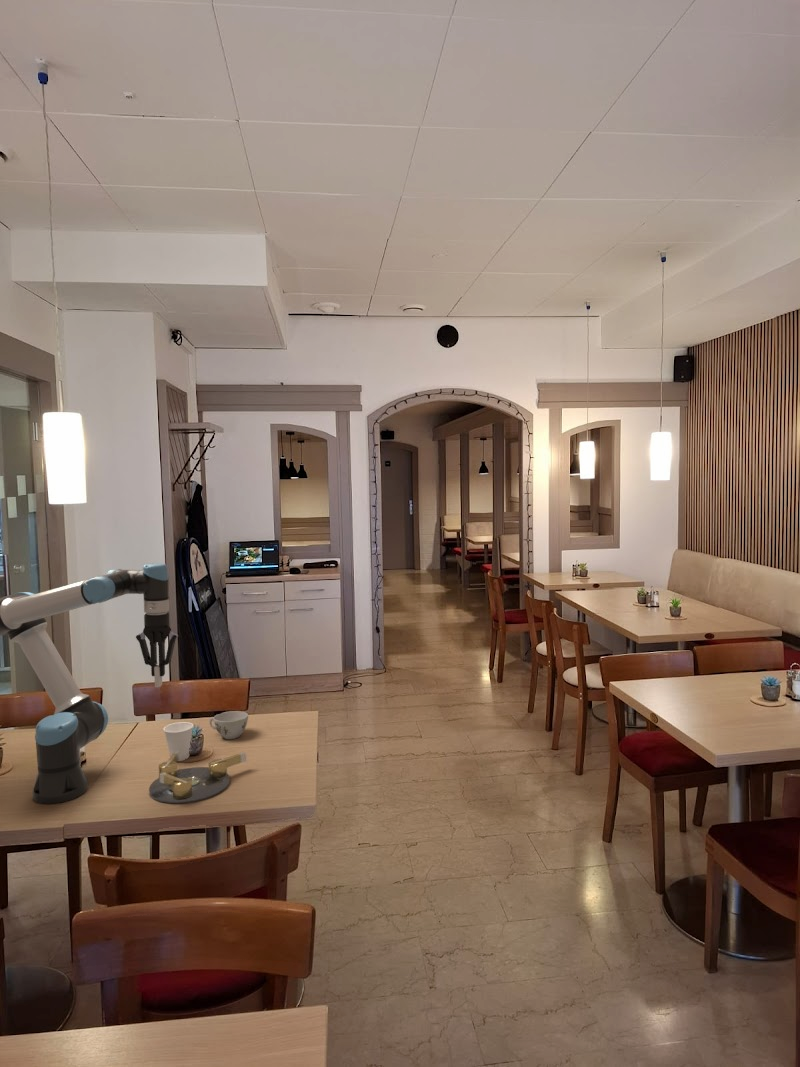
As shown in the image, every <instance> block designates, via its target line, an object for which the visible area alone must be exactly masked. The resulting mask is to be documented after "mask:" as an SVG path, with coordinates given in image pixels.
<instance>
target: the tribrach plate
mask: <svg viewBox="0 0 800 1067" xmlns="http://www.w3.org/2000/svg"><path fill="white" fill-rule="evenodd" d="M177 771H178V777H177V778H189V779H191V780H192V795H191V796H190V797H188V798H185V799H175V798H173V793H172V787H171V786H168V785H166V784H163V783H160V779H159V777H158V778H156V779H155V780H154V781H153V782H152V783H151V784H150V785H149V789H148V792H149V793H148V794H149V796H150V798H152V799H153V800H154V801H156V802H160V803H164V804H170V805H175V804H179V805H180V804H182V805H184V804H190V803H196V802H200V801H204V800H208V799H210V798H214V797H215V796H217V795H219V794H221V793H223V792H224V791H225V790H226V789H227V788H229V785H230V783H231V782H230V775H229V773H227V775H226V776H225V777H222V778H218V779H213V778H210V777H209V766H207V767H206V766H197V767H196V766H195V767H189V768H183V769H177Z"/></svg>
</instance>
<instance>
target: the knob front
mask: <svg viewBox="0 0 800 1067" xmlns="http://www.w3.org/2000/svg"><path fill="white" fill-rule="evenodd" d="M160 783H163V784H166V785H168V786H171V787H172V793H173V798H175V799H185V798H188V797H190V796H191V795H192V780H191V779H189V778H177V777H174V776H172V775H169V774H167V773H165V772H163V773H161V774H160Z"/></svg>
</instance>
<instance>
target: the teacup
mask: <svg viewBox="0 0 800 1067" xmlns="http://www.w3.org/2000/svg"><path fill="white" fill-rule="evenodd" d="M248 719H249V714H248V713H247V712H245V711H241V710H235V711H233V710H231V711H225V712H221V713H219V714H216V715H214V717H213V716H212V717H210V718H209V726H210V727H211V728H212V729H213V730H216V731H217V733H218V734H219V735H220V736H222V738H224V739H226V740H235V739H238V738H239V737H240V736H241V735H242V734H243V732H244V731H245V729H246V727H247V725H248ZM212 722H213V724H214V725H213V724H212Z"/></svg>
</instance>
